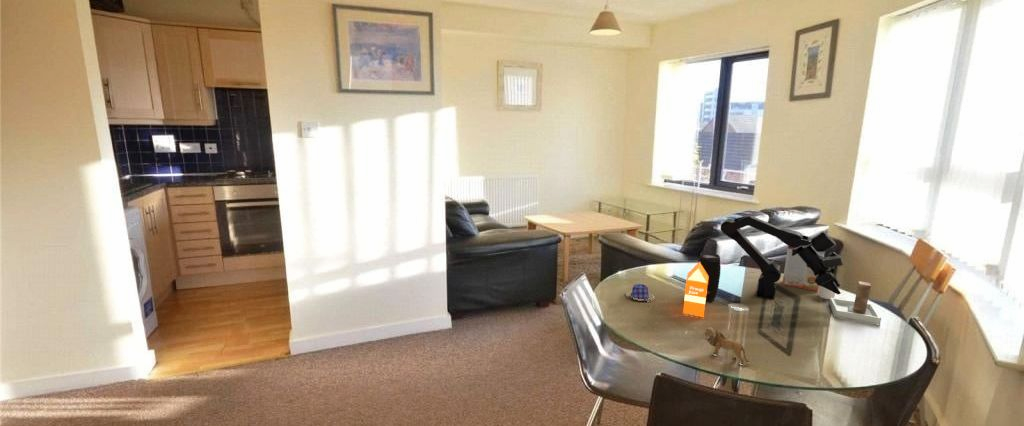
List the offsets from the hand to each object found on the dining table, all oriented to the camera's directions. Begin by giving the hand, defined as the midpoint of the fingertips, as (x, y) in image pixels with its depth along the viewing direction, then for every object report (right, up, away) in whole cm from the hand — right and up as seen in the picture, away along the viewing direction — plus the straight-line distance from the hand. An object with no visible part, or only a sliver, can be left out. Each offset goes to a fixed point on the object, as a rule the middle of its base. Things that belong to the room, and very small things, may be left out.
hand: (839, 290), depth 182 cm
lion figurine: (-62, -17, -33) cm, 72 cm away
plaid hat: (-76, -6, +13) cm, 78 cm away
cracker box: (+1, -3, +27) cm, 27 cm away
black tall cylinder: (-49, -6, +12) cm, 51 cm away
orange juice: (-59, -9, -1) cm, 59 cm away
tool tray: (+5, -9, -1) cm, 11 cm away
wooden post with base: (+6, -9, -2) cm, 11 cm away
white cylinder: (+6, -6, +16) cm, 18 cm away
